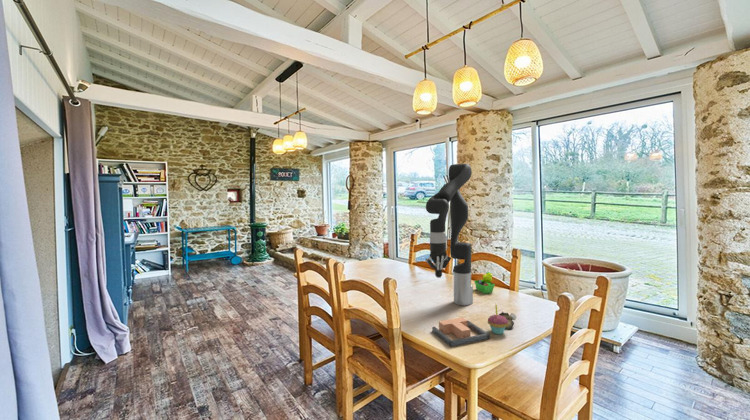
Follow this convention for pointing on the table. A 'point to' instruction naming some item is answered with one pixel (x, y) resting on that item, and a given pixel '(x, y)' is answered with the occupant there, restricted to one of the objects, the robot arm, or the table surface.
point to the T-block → (455, 327)
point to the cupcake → (497, 323)
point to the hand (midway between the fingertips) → (438, 277)
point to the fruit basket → (485, 284)
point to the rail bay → (463, 341)
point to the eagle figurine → (509, 319)
